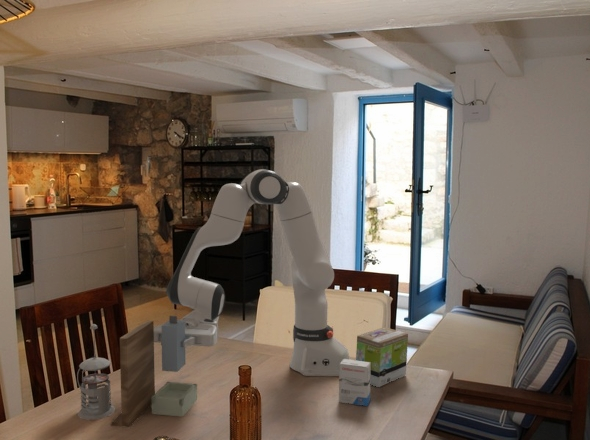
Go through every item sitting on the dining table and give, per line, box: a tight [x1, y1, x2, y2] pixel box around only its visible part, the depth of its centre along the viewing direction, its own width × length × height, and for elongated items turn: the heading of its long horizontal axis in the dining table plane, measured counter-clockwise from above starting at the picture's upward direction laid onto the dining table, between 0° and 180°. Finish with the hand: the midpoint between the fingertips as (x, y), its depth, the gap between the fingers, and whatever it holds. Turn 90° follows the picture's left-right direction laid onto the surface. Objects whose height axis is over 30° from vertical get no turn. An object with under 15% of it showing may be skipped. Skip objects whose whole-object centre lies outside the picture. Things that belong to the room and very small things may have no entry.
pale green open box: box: [151, 381, 198, 418], centre depth 159 cm, size 9×11×5 cm
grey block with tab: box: [161, 315, 186, 373], centre depth 158 cm, size 4×6×15 cm
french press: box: [76, 323, 115, 421], centre depth 155 cm, size 10×12×25 cm
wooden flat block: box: [111, 320, 156, 428], centre depth 154 cm, size 5×16×24 cm, turn 170°
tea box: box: [355, 326, 409, 388], centre depth 181 cm, size 15×10×15 cm, turn 135°
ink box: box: [338, 358, 371, 407], centre depth 163 cm, size 8×5×12 cm, turn 71°
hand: (173, 343), depth 158 cm, fingers closed on grey block with tab, 4 cm apart
